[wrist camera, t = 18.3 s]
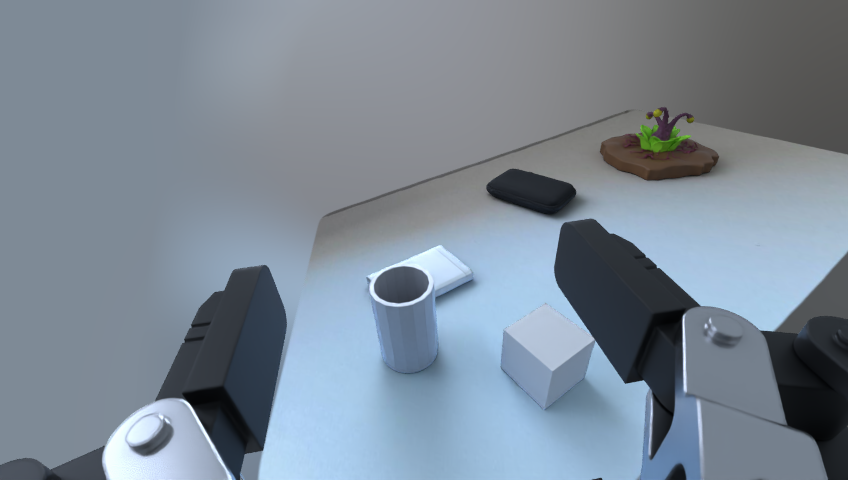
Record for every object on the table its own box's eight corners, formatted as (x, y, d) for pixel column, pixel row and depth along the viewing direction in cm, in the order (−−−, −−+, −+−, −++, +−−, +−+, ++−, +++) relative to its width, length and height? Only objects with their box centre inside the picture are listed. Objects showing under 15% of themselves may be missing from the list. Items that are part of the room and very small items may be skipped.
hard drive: (394, 310, 46) (473, 270, 51) (365, 275, 52) (439, 243, 57) (395, 319, 47) (473, 279, 52) (367, 284, 53) (440, 251, 58)
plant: (582, 151, 86) (592, 101, 79) (652, 137, 90) (666, 88, 84) (651, 187, 70) (669, 128, 63) (732, 168, 74) (757, 111, 68)
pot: (374, 368, 41) (359, 302, 35) (391, 324, 46) (381, 260, 40) (431, 377, 40) (425, 310, 34) (442, 331, 45) (439, 266, 39)
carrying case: (581, 195, 69) (512, 176, 78) (584, 180, 67) (513, 162, 76) (553, 220, 63) (481, 195, 72) (556, 204, 61) (482, 181, 70)
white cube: (544, 410, 36) (552, 371, 32) (500, 367, 40) (503, 329, 37) (584, 377, 38) (596, 338, 35) (539, 340, 43) (545, 302, 39)
